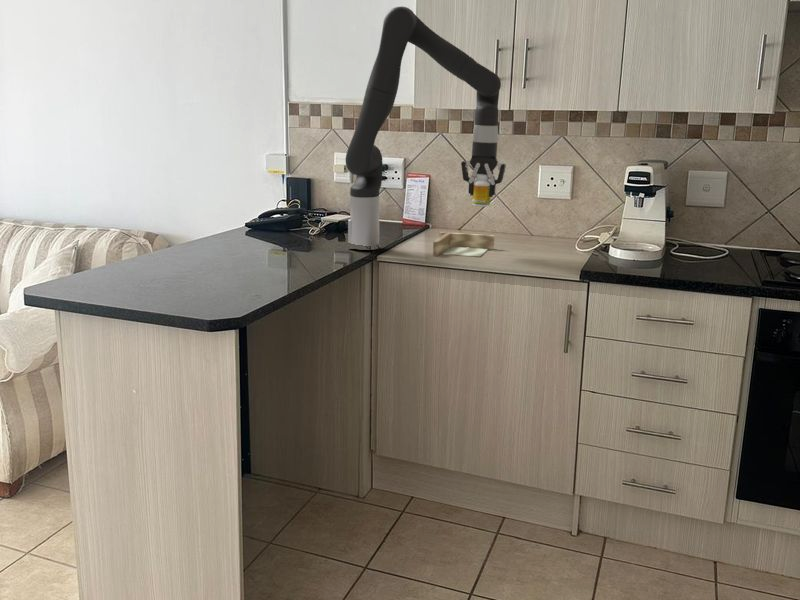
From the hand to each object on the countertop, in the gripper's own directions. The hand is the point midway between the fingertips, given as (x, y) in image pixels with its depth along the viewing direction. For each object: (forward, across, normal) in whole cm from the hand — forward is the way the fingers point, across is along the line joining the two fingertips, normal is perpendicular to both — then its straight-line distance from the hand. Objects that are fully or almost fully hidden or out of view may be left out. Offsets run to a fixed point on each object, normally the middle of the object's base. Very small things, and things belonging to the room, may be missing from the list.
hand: (481, 195), depth 245 cm
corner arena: (+19, -6, +1) cm, 20 cm away
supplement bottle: (+3, 0, 0) cm, 3 cm away
